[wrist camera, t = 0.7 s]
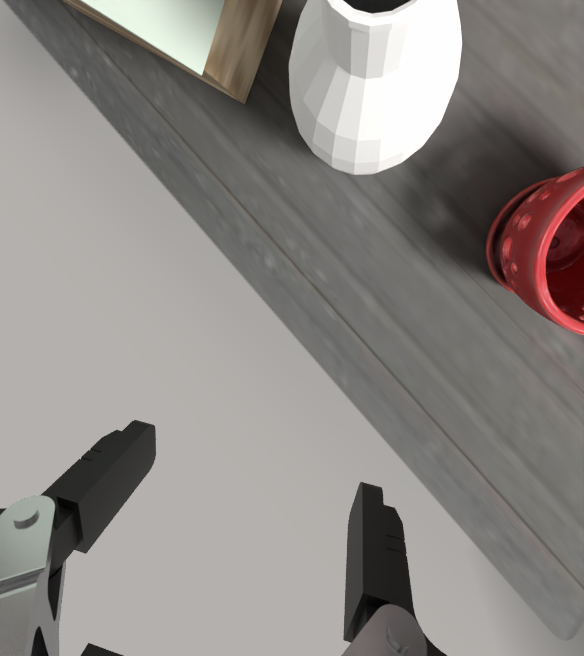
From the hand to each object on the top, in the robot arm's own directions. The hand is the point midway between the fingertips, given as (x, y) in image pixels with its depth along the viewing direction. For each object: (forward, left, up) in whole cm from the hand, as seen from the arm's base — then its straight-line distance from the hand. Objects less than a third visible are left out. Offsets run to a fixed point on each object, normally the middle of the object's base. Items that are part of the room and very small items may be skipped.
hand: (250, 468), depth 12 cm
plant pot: (-16, +17, -30) cm, 38 cm away
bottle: (-17, -5, -30) cm, 35 cm away
